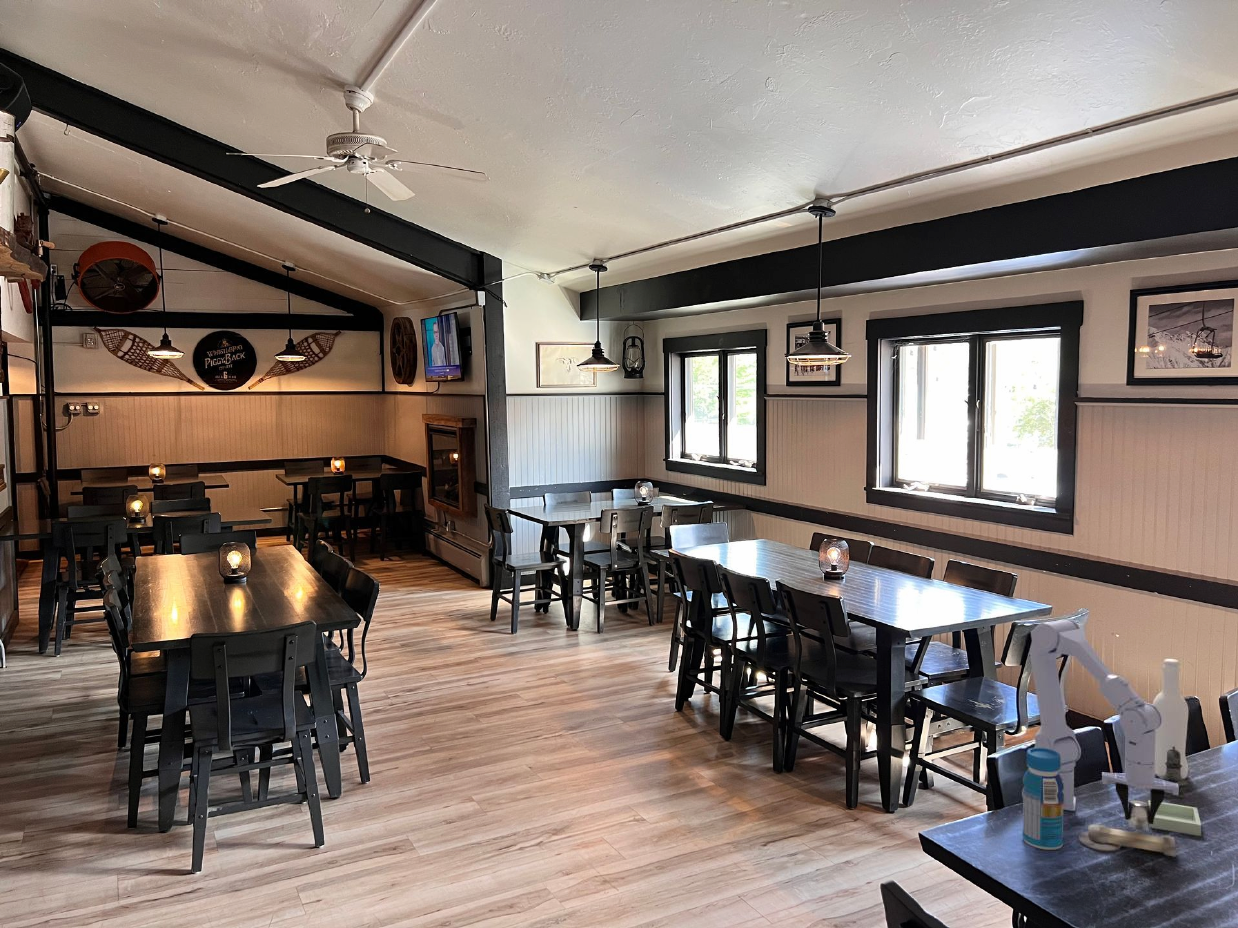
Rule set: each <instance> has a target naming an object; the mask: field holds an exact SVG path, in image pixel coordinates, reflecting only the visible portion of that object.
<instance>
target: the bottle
mask: <svg viewBox="0 0 1238 928" xmlns="http://www.w3.org/2000/svg"><path fill="white" fill-rule="evenodd" d="M1180 665H1181V664H1180V662H1179V660H1177V659H1174V658H1166V659H1164V660H1163V665H1162V668H1161V669H1162V685H1161V686H1162V687H1161V691H1160V692H1159V693H1157V695H1156V696H1155V697H1154V699H1153V700H1152V701H1153V702H1152V705H1154V706H1155V707H1156V708H1157V710H1158V711H1159V713H1160V715H1161V718H1162V723H1161V725H1160V727H1159V728H1157V729H1155V730H1153V731H1156V742H1155V776H1157V777H1160V776H1162V775H1165V774H1166V764H1165V763H1166V762H1167V751H1168V750H1170V749H1173V748H1172V747H1173V746H1174V747H1175V749H1176V750H1177V751H1179V752H1180V755H1181V757H1180V764H1181V765H1182V767H1181V777H1182V778H1183V779H1185V780H1186V778H1187V776H1188V772H1189V770H1188V769H1189V762H1188V761H1187V757H1186V743H1187V734H1188V733H1187V731H1188V721H1189V706H1188V703H1187V701H1186V700H1185V698H1184V697H1183V696H1182V695H1181V693H1180V670H1181V669H1180Z"/></svg>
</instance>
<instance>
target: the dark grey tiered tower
mask: <svg viewBox="0 0 1238 928" xmlns="http://www.w3.org/2000/svg"><path fill="white" fill-rule="evenodd" d="M1172 748H1173V749H1170V750H1168V751H1167V762H1166V763H1165V764H1166V774H1165V775H1162V776H1160V777H1159V776H1158V777H1159V778H1158V779H1160V780H1164V781H1168V782H1172V783H1178V786H1179V795H1173V794H1172V793H1167V792H1164V795H1165V797H1167V798H1170V799H1174V800H1182V799H1186V797H1187V796H1186V794H1185V793H1184V792H1183V791H1184V790H1185V788H1186V786H1187V785H1188V780H1187V779H1186V778H1185V779H1183V778H1182V777H1181V767H1182V765H1181V764H1180V757H1181V755H1180V752H1179V751H1177V750H1176V749H1175V747H1174V746H1173V747H1172Z"/></svg>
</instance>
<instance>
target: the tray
mask: <svg viewBox="0 0 1238 928" xmlns="http://www.w3.org/2000/svg"><path fill="white" fill-rule="evenodd" d="M1147 804H1149V805H1150V799H1148V801H1147ZM1149 828H1152V829H1158V830H1164V831H1169V832H1173V833H1174V832H1175V833H1179V834H1181V833H1182V834H1186V835H1191V836H1193V835H1194V836H1199V837H1202V824H1201V819H1200V815H1199V811H1198V807H1193V806H1189V805H1182V804H1175V803H1170V802H1164V801H1163V802H1162V803H1161V805H1160V806H1159V808H1158V810H1157V812H1156V814H1155V817H1154V822H1153V824H1150V823H1149Z"/></svg>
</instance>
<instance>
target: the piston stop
mask: <svg viewBox="0 0 1238 928" xmlns="http://www.w3.org/2000/svg"><path fill="white" fill-rule="evenodd" d="M1128 811H1129V820H1127V823H1128V827H1130V828H1131V829H1133V830H1137V831H1143V832H1144V831H1149V830H1150V823H1149V817H1150V805H1149V804H1148V802H1145V801H1142V800H1128Z"/></svg>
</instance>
